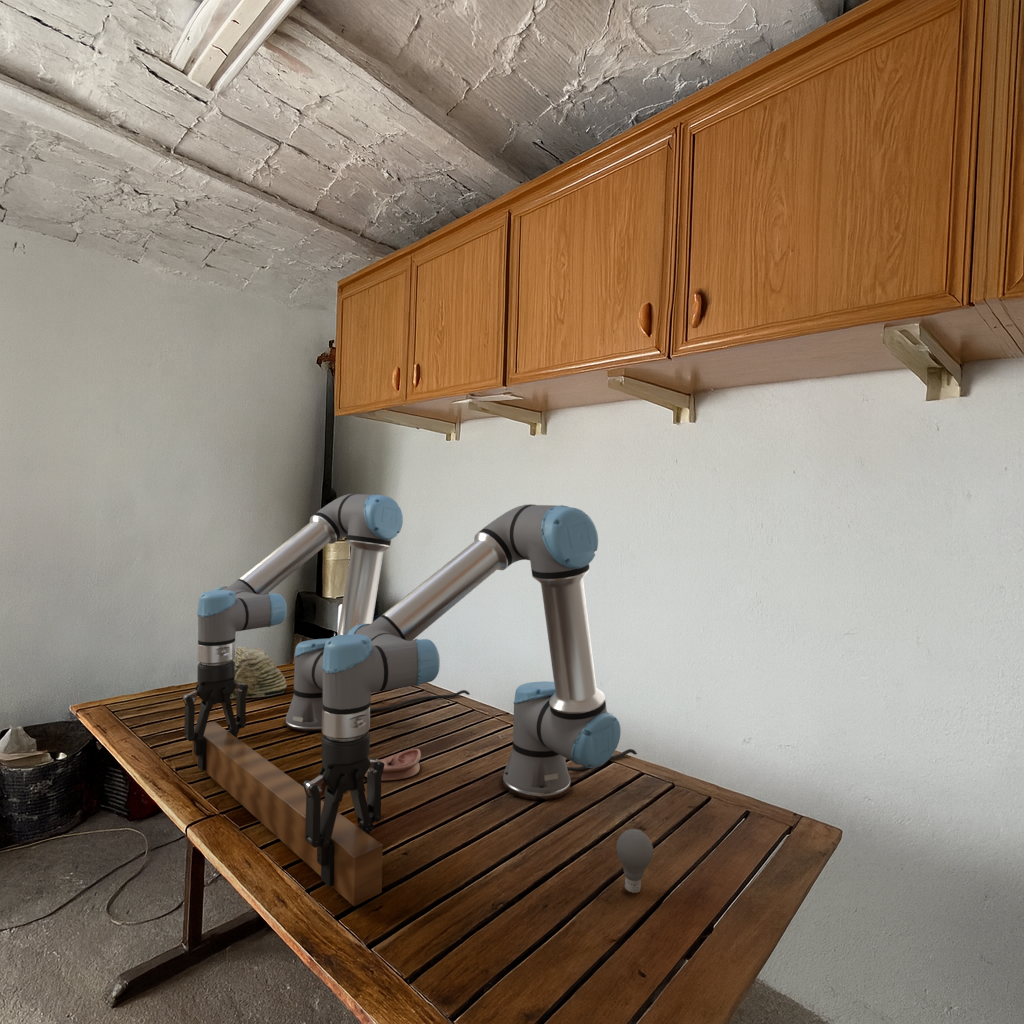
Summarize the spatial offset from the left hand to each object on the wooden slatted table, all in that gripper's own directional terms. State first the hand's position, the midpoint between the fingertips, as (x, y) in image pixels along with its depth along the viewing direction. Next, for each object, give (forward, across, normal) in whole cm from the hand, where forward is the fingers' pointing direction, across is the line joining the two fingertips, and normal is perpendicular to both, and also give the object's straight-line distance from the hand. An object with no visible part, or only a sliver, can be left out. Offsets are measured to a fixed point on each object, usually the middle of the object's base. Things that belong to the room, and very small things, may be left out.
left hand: (215, 764), depth 141 cm
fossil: (+4, +30, +51) cm, 59 cm away
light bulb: (+3, +36, -86) cm, 93 cm away
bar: (+1, 0, -27) cm, 27 cm away
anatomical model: (+3, +31, -22) cm, 38 cm away
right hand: (0, 0, -54) cm, 55 cm away
